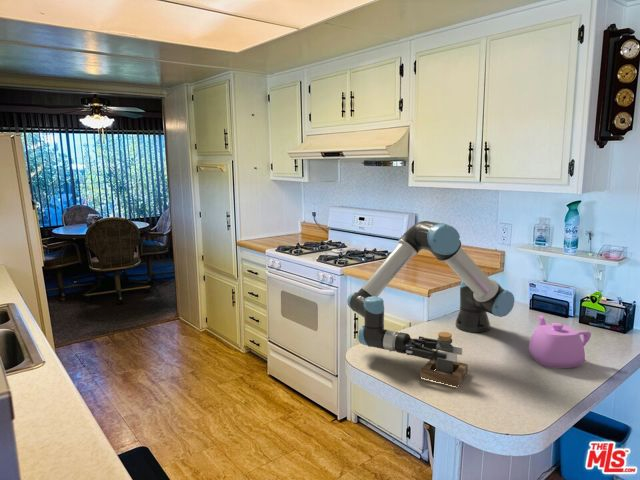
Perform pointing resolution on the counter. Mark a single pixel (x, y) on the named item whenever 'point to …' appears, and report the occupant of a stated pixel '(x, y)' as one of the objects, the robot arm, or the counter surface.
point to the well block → (445, 378)
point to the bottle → (445, 346)
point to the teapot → (558, 345)
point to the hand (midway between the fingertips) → (459, 354)
